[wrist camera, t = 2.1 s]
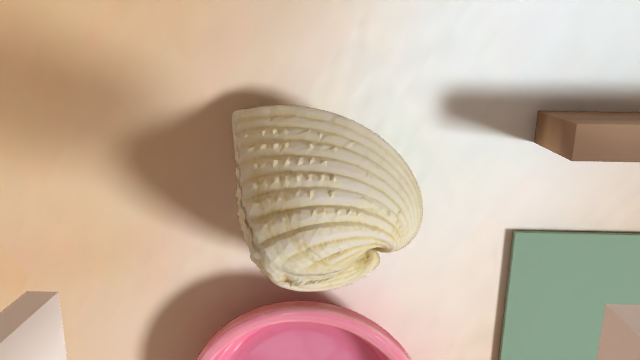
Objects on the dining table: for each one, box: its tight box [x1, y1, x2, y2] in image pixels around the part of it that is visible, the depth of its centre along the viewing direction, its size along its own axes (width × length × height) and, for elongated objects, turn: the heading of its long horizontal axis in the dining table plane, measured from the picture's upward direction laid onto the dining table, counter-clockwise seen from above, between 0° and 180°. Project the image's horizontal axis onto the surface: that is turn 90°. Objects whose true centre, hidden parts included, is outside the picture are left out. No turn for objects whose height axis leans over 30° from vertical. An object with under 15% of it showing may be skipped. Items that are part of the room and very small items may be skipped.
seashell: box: [231, 105, 423, 292], centre depth 23 cm, size 8×8×8 cm
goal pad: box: [499, 231, 640, 360], centre depth 27 cm, size 12×12×1 cm
